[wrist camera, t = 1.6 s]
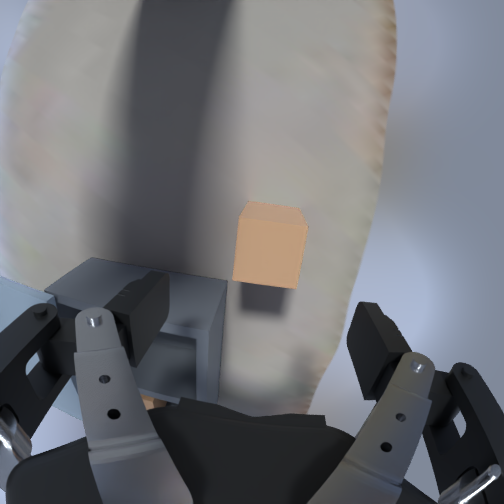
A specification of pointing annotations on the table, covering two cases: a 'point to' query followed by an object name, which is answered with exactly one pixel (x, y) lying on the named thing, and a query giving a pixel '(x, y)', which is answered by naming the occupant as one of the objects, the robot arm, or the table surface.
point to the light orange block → (270, 245)
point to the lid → (4, 313)
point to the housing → (170, 335)
